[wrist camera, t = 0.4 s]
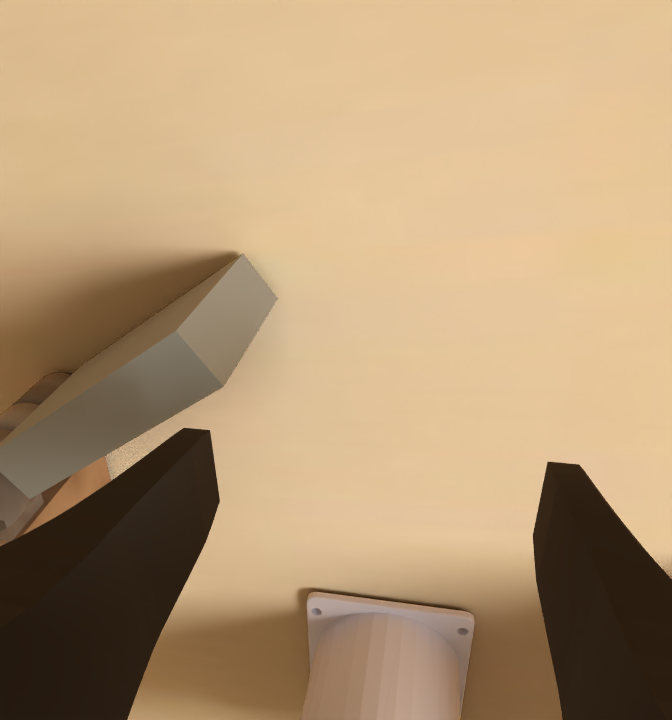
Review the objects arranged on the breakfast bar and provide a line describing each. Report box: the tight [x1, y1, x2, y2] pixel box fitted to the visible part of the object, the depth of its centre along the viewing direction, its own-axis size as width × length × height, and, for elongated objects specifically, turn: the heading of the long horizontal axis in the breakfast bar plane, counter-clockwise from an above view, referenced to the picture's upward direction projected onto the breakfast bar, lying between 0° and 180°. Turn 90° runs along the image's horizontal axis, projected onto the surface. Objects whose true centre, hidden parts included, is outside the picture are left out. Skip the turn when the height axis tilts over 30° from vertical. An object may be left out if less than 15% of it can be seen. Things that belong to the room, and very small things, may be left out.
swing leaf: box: [0, 254, 278, 499], centre depth 22 cm, size 12×3×6 cm, turn 126°
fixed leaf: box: [0, 372, 111, 546], centre depth 26 cm, size 12×3×6 cm, turn 1°
